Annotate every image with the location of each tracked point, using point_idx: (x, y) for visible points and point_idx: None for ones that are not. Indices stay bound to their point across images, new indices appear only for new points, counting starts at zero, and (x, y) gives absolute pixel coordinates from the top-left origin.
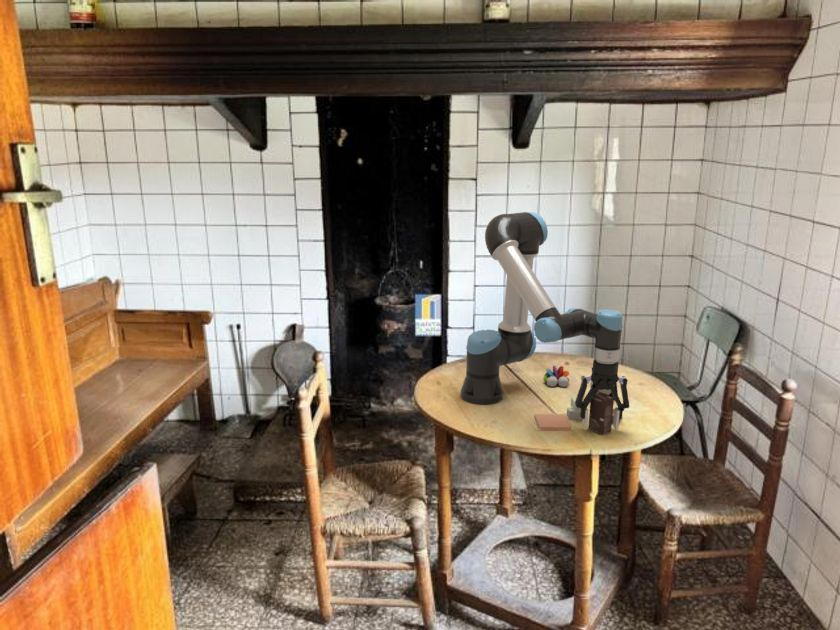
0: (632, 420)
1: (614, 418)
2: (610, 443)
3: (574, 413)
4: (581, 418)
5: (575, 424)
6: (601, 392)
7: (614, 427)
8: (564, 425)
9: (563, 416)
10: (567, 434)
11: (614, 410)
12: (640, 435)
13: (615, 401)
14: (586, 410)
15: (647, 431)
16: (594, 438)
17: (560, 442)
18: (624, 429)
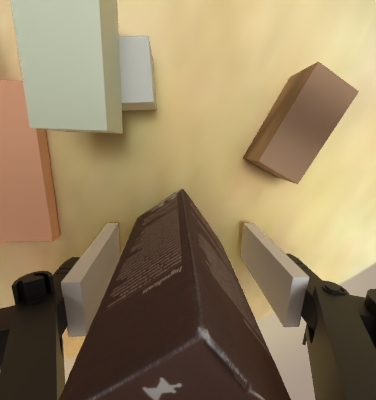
0: (358, 132)
1: (258, 251)
2: None
3: None
4: (127, 110)
5: (87, 175)
6: (220, 382)
7: (242, 243)
8: (19, 222)
9: (19, 113)
10: (40, 269)
11: (313, 98)
12: (317, 266)
13: (323, 317)
14: (72, 336)
15: (359, 234)
16: None
17: None
18: (283, 220)
